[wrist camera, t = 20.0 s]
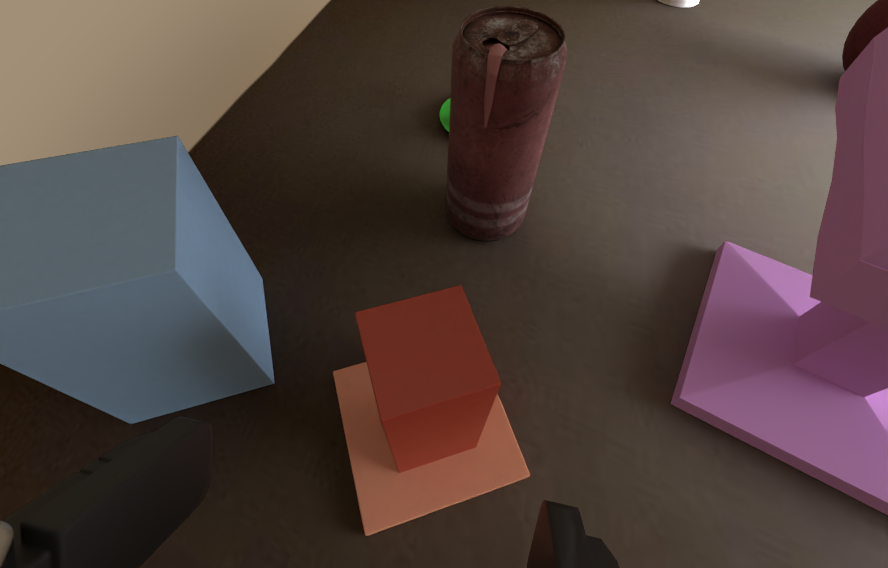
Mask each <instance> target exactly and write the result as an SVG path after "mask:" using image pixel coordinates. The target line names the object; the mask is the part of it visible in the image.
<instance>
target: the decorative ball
mask: <svg viewBox="0 0 888 568" xmlns="http://www.w3.org/2000/svg"><path fill="white" fill-rule="evenodd" d="M886 28H888V0H878V1H876V2H875V3H874V4H873V5H872V6H870V7H869V8H868V9H867V10H866V11H865V12H864V13H863V14H862V16H861V17H860V18H859V19H858V20H857V22H856V23H855V25H854V26H853V28H852V29H851V31H850V32H849V34H848V37H847V39H846V41H845V44H844V50H843V56H842V59H843V67H844V70H845V71H846V70H847V69H848V68H849V66H850V65H851V64H852V63H853V62H854V61H855V59H856V58H857V57H858V56H859V55H860V53H861V52H862V51H863V50H864V49H865V47H866V46H867V45H868V44H869V43H870V42H871V40H872V39H873V38H874V37H876V36H877V35H878V34H880V33H881V32H882V31H884V30H885V29H886Z"/></svg>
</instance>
